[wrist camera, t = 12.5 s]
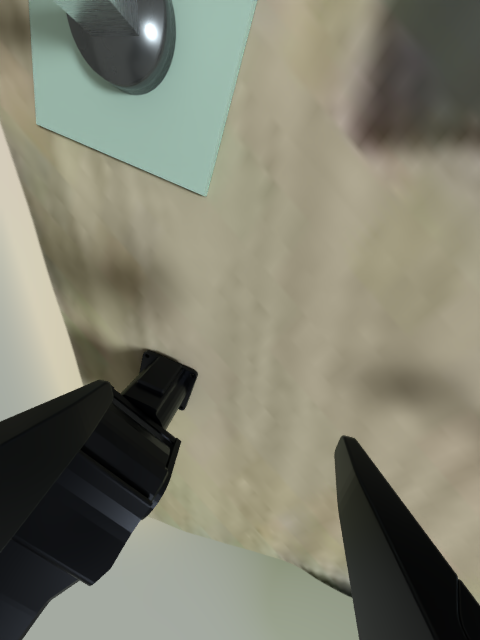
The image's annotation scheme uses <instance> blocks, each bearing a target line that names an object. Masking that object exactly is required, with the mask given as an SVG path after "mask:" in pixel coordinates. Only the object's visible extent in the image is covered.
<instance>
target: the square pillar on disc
mask: <svg viewBox="0 0 480 640" xmlns="http://www.w3.org/2000/svg"><path fill="white" fill-rule="evenodd" d="M53 1H54V2H55V3H56V4H57V5H59V6H60V7H61V8H62V9H63V10H64V11H65V12H66V14H67V19H68V23H69V27H70V30H71V33H72V36H73V38H74V41H75V43H76V45H77V47H78V49H79V51H80V53H81V55H82V56H83V58H84V59H85V61H86V62H87V63H88V65H89V66H90V67H91V68H92V69H93V70H94V71H95V72H96V73H97V74H98V75H100V76H101V77H102V78H104V79H105V80H106V81H108V82H109V83H111V84H112V85H113V86H115V87H116V88H118V89H119V90H120V91H122V92H124V93H127V94H130V95H143V94H147V93H149V92H151V91H152V90H154V89H155V88H156V87H157V86H158V85H159V84H160V83H161V82H162V81H163V79H164V78H165V76H166V74H167V72H168V70H169V68H170V65H171V62H172V59H173V55H174V50H175V42H176V21H175V13H174V8H173V4H172V0H53Z"/></svg>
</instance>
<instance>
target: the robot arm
mask: <svg viewBox="0 0 480 640" xmlns="http://www.w3.org/2000/svg"><path fill="white" fill-rule="evenodd" d="M192 374H193V375H192ZM197 376H198V373H197V372H196V371H195V370H192V369H190V368H188V367H186V366H183V365H181V364H179V363H177V362H174V361H172V360H170V359H168V358H165V357H163V356H161V355H159V354H156V353H154V352H152V351H149V350H147V351H145V352H144V354H143V358H142V363H141V368H140V373H139V375H138V376H137V377H136V378H135V379H134V380H133V381H132V382H131V383H130V384H129V385H128V387H127V388H126V389H125V390H124V391H123V392H122V393H121V394H120V393H119V392H117V391H116V390H115V389H114V387H113V386H112V385H111V384H110V382H108V381H104V380H97V381H95V382H92V383H90V384H88V385H85V386H83V387H81V388H78V389H76V390H74V391H71V392H69V393H67V394H65V395H62V396H59V397H57V398H55V399H52V400H50V401H48V402H46V403H43V404H41V405H38V406H36V407H34V408H31V409H29V410H27V411H24V412H22V413H20V414H17V415H15V416H13V417H10V418H8V419H5V420H3V421H1V422H0V640H22V639H23V638H24V636H25V635H26V633H27V632H28V631H29V629H30V628H31V626H32V625H33V623H34V622H35V621H36V619H37V618H38V617H39V615H40V614H41V612H42V611H43V610H44V608H45V607H46V606H47V604H48V603H49V602H50V601H51V600H52V599H53V598H55V597H56V596H58V595H59V594H61V593H62V592H63V591H65V590H66V589H68V588H69V587H71V586H72V585H74V584H75V583H77V582H78V581H79V580H80V581H82V582H83V583H85V584H87V585H88V586H91V585H93V584H94V583H95V582H96V581H97V580H99V579H100V578H101V577H102V576H103V575H104V574H105V573H106V572H107V571H109V570H110V568H111V567H112V565H113V564H114V562H115V560H116V559H117V557H118V555H119V553H120V552H121V550H122V548H123V547H124V545H125V543H126V542H127V540H128V538H129V537H130V535H131V533H132V532H133V530H134V529H135V527H136V526H137V525H138V523H139V522H140V520H143V519H144V518H145V517H147V516H148V515H149V514H150V512H151V511H152V510H153V509H154V508H155V506H156V505H157V503H158V502H159V500H160V499H161V497H162V495H163V494H164V492H165V490H166V488H167V486H168V483H169V481H170V478H171V474H172V471H173V468H174V464H175V461H176V457H177V454H178V451H179V447H180V444H181V441H180V440H179V439H178V438H175V437H174V436H172V435H171V434H170V433H169V432H167V431H166V429H167V427H168V425H169V424H170V422H171V420H172V418H173V417H174V415H175V413H176V412H177V410H178V409H179V410H184V409H185V408H186V406H187V403H188V400H189V398H190V395H191V392H192V390H193V387H194V384H195V381H196V379H197ZM335 473H336V488H337V502H338V511H339V518H340V524H341V530H342V537H343V543H344V549H345V555H346V561H347V567H348V573H349V579H350V585H351V592H352V598H353V603H354V610H355V615H356V622H357V628H358V634H359V640H480V605H479V604H478V602H477V601H476V600H475V598H474V597H473V596H472V594H471V593H470V592H469V590H468V589H467V588H466V586H465V585H464V584H463V582H462V581H461V580H460V579H458V576H457V574H456V573H455V572H454V570H453V569H452V568H451V566H450V565H449V564H448V562H447V561H446V560H445V558H444V557H443V556H442V554H441V553H440V552H439V550H438V549H437V548H436V546H435V545H434V544H433V542H432V541H431V539H430V538H429V537H428V535H427V534H426V533H425V531H424V530H423V529H422V527H421V526H420V525H419V523H418V522H417V521H416V519H415V518H414V517H413V515H412V514H411V513H410V511H409V510H408V509H407V507H406V506H405V505H404V503H403V502H402V501H401V499H400V498H399V496H398V495H397V494H396V492H395V491H394V490H393V488H392V487H391V486H390V484H389V483H388V482H387V480H386V479H385V478H384V476H383V475H382V474H381V472H380V471H379V470H378V468H377V467H376V466H375V464H374V463H373V462H372V460H371V459H370V458H369V456H368V455H367V453H366V452H365V451H364V449H363V448H362V447H361V445H360V444H359V443H358V441H357V440H356V439H355V438H353V437H349V436H344V435H343V436H341V438H340V440H339V442H338V445H337V447H336V449H335Z"/></svg>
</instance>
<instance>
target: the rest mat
mask: <svg viewBox="0 0 480 640" xmlns="http://www.w3.org/2000/svg"><path fill="white" fill-rule="evenodd" d="M256 3H257V0H172V4H173V8H174V13H175V21H176V42H175V50H174V55H173V59H172V62H171V65H170V68H169V70H168V72H167V74H166V76H165V78H164V79H163V81H162V82H161V83H160V84H159V85H158V86H157V87H156V88H155V89H154V90H152V91H151V92H149V93H147V94H143V95H130V94H127V93H124V92H122V91H120V90H119V89H118V88H116V87H115V86H113V85H112V84H111V83H109V82H108V81H106V80H105V79H104V78H102V77H101V76H100V75H98V74H97V73H96V72H95V71H94V70H93V69H92V68H91V67H90V66H89V65H88V63H87V62H86V61H85V59H84V58H83V56H82V55H81V53H80V51H79V49H78V47H77V45H76V43H75V41H74V38H73V36H72V33H71V30H70V27H69V23H68V19H67V14H66V12H65V11H64V10H63V9H62V8H61V7H60V6H59V5H57V4H56V3H55V2H54V1H53V0H29V14H30V30H31V45H32V61H33V77H34V93H35V109H36V124H37V125H40V126H42V127H44V128H47V129H49V130H51V131H54V132H56V133H58V134H61V135H63V136H65V137H68V138H70V139H72V140H75V141H77V142H79V143H82V144H84V145H86V146H89V147H91V148H93V149H96V150H98V151H100V152H103V153H105V154H107V155H110V156H112V157H114V158H117V159H119V160H121V161H124V162H126V163H128V164H131V165H133V166H135V167H138V168H140V169H142V170H145V171H147V172H149V173H152V174H154V175H156V176H158V177H161V178H163V179H165V180H168V181H170V182H172V183H175V184H177V185H179V186H182V187H184V188H186V189H189V190H191V191H193V192H196V193H198V194H200V195H203V196H207V192H208V188H209V185H210V181H211V177H212V173H213V169H214V165H215V161H216V158H217V154H218V150H219V146H220V142H221V138H222V134H223V131H224V127H225V123H226V119H227V115H228V111H229V107H230V104H231V100H232V96H233V92H234V88H235V84H236V80H237V77H238V73H239V69H240V65H241V61H242V57H243V53H244V49H245V46H246V42H247V38H248V34H249V30H250V26H251V22H252V19H253V15H254V11H255V7H256Z"/></svg>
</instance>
